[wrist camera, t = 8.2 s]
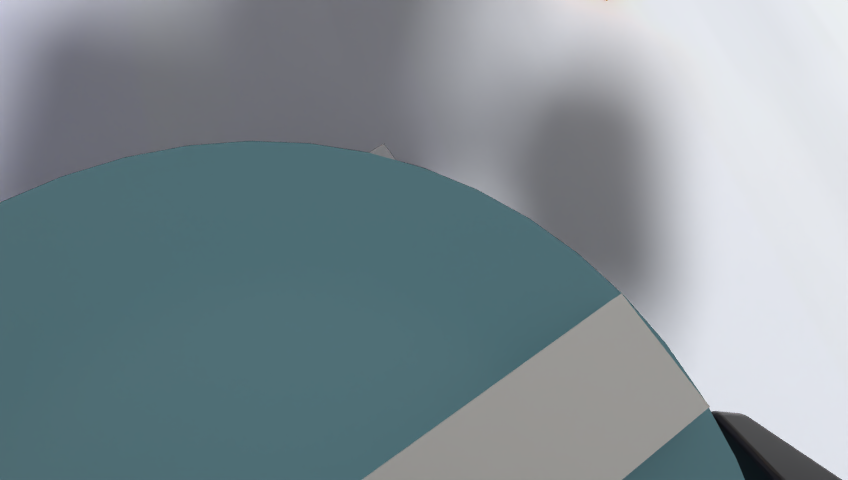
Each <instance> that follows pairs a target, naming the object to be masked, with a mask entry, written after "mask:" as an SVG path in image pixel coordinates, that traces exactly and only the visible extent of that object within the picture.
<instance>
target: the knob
mask: <svg viewBox="0 0 848 480" xmlns="http://www.w3.org/2000/svg"><path fill="white" fill-rule="evenodd" d="M709 407H710V406H709V405H708V404H707V402H706V401H705V400H704V398H703V397H702V395H701V394H700V392H699V391H698V389H697V388H696V386H695V385H694V384H693V382H692V381H691V379H690V378H689V376H688V375H687V373H686V372H685V371H684V369H683V368H682V366H681V365H680V363H679V362H678V361H677V359H676V358H675V356H674V355H673V353H672V352H671V350H670V349H669V348H668V346H667V345H666V343H665V342H664V341H663V340H662V339H661V337H660V336H659V335H658V334H657V333H656V332H655V331H654V329H653V328H652V327H651V326H650V325H649V324H648V323H647V321H646V320H645V319H644V318H643V317H642V316H641V315H640V313H639V312H638V311H637V310H636V309H635V308H634V307H633V305H632V304H631V303H630V302H629V301H628V300H627V298H626V297H625V296H624V295H623V294H622V293H621V292H620V291H619V290H617V289H616V288H615V287H614V286H613V285H612V284H611V283H610V282H609V281H608V280H606V279H605V278H604V277H603V276H602V275H601V274H600V273H599V272H598V271H597V270H595V269H594V268H593V267H592V266H591V265H590V264H589V263H588V262H587V261H586V260H584V259H583V258H582V257H581V256H580V255H579V254H578V253H577V252H575V251H574V250H572V249H571V248H570V247H568V246H567V245H565V244H564V243H563V242H561V241H560V240H558V239H557V238H556V237H554V236H553V235H551V234H550V233H549V232H547V231H546V230H545V229H543V228H542V227H540V226H539V225H538V224H536V223H535V222H533V221H532V220H531V219H529V218H527V217H526V216H524V215H522V214H520V213H518V212H517V211H515V210H513V209H511V208H509V207H508V206H506V205H504V204H502V203H500V202H498V201H497V200H495V199H493V198H491V197H489V196H488V195H486V194H484V193H482V192H480V191H479V190H476V189H474V188H472V187H469V186H467V185H464V184H462V183H459V182H457V181H454V180H452V179H450V178H447V177H445V176H442V175H440V174H437V173H435V172H432V171H430V170H428V169H425V168H422V167H418V166H415V165H411V164H408V163H404V162H400V161H397V160H393V159H390V158H386V157H383V156H379V155H375V154H372V153H368V152H362V151H355V150H349V149H343V148H336V147H330V146H323V145H317V144H311V143H287V142H262V141H243V142H230V143H216V144H203V145H189V146H183V147H178V148H173V149H167V150H162V151H157V152H151V153H146V154H141V155H135V156H130V157H125V158H122V159H118V160H115V161H112V162H108V163H105V164H102V165H98V166H95V167H92V168H89V169H85V170H82V171H79V172H75V173H72V174H69V175H65V176H62V177H60V178H57V179H55V180H52V181H50V182H48V183H45V184H43V185H41V186H38V187H36V188H34V189H31V190H29V191H26V192H24V193H22V194H19V195H17V196H15V197H12V198H10V199H8V200H5V201H3V202H0V480H745V479H744V476H743V474H742V471H741V469H740V467H739V464H738V462H737V459H736V457H735V455H734V454H733V452H732V450H731V448H730V446H729V444H728V442H727V441H726V439H725V437H724V435H723V433H722V431H721V430H720V428H719V426H718V424H717V422H716V420H715V418H714V417H713V415H712V413H711V411H710V409H709Z"/></svg>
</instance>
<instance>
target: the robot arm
mask: <svg viewBox="0 0 848 480" xmlns="http://www.w3.org/2000/svg"><path fill="white" fill-rule="evenodd" d="M711 413H712V415H713V417H714V418H715V420H716V422H717V424H718V426H719V428H720V430H721V431H722V433H723V435H724V437H725V439H726V441H727V442H728V444H729V446H730V448H731V450H732V452H733V454H734V455H735V457H736V459H737V462H738V464H739V467H740V469H741V471H742V474H743V476H744V479H745V480H841V479H840V478H838V477H837V476H836V475H834V474H833V473H831V472H830V471H828V470H827V469H825V468H824V467H822V466H821V465H819V464H818V463H816V462H815V461H813V460H812V459H810V458H809V457H807V456H806V455H804V454H803V453H801V452H800V451H798V450H797V449H795V448H794V447H792V446H791V445H789V444H788V443H786V442H785V441H783V440H782V439H780V438H779V437H777V436H776V435H774V434H773V433H771V432H770V431H768V430H767V429H766V428H764V427H763V426H761V425H760V424H758V423H757V422H755V421H754V420H752V419H751V418H749V417H747V416H746V415H743V414H740V413H730V412H719V411H713V412H711Z"/></svg>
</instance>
